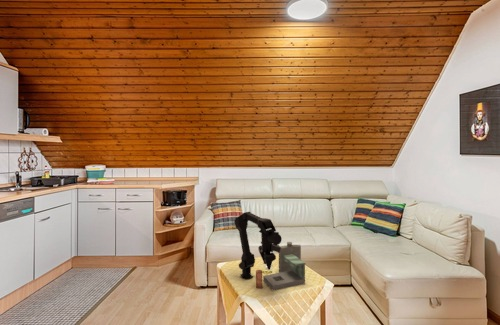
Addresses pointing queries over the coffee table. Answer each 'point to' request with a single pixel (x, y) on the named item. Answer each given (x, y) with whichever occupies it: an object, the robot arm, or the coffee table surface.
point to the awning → (296, 265)
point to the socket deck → (283, 280)
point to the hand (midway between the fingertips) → (267, 266)
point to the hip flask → (288, 251)
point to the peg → (258, 279)
